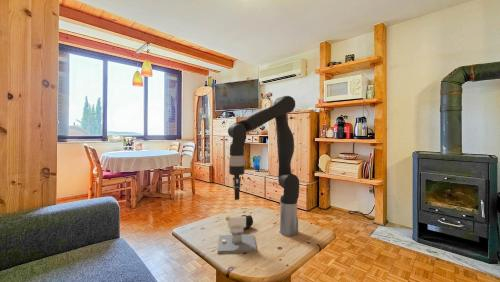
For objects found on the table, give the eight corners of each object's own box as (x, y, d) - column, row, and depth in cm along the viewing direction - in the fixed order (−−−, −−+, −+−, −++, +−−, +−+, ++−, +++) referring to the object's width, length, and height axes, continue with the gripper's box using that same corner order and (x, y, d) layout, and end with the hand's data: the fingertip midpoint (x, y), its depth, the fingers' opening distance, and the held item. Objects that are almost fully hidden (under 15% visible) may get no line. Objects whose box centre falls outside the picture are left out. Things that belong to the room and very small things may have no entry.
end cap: (239, 232, 125) (239, 220, 125) (232, 228, 130) (232, 217, 130) (253, 227, 131) (253, 216, 131) (245, 224, 137) (245, 213, 137)
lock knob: (245, 228, 115) (245, 214, 115) (246, 234, 108) (246, 219, 108) (226, 229, 114) (226, 215, 114) (225, 235, 108) (225, 220, 107)
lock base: (253, 236, 120) (253, 224, 120) (256, 251, 104) (256, 238, 104) (219, 237, 119) (219, 225, 119) (217, 253, 103) (217, 240, 103)
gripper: (245, 166, 104) (245, 201, 104) (243, 162, 118) (243, 193, 118) (229, 166, 103) (229, 201, 104) (229, 162, 117) (229, 193, 118)
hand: (236, 197), depth 111 cm, fingers open, 8 cm apart
